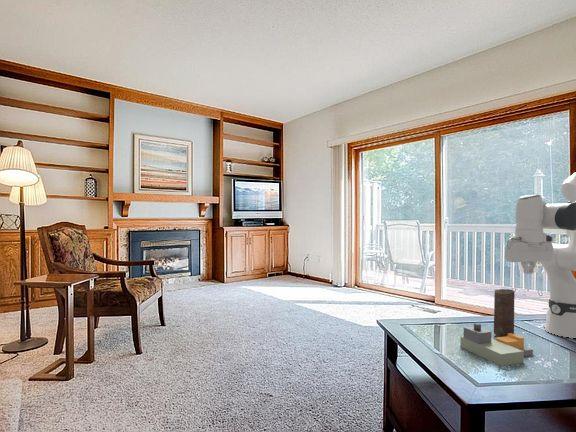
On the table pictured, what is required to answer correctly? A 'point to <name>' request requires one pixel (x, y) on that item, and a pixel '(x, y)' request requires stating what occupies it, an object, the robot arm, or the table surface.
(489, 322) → the table surface
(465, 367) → the table surface
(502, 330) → the candle
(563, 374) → the table surface
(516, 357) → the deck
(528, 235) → the robot arm
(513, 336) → the orange lidded box
